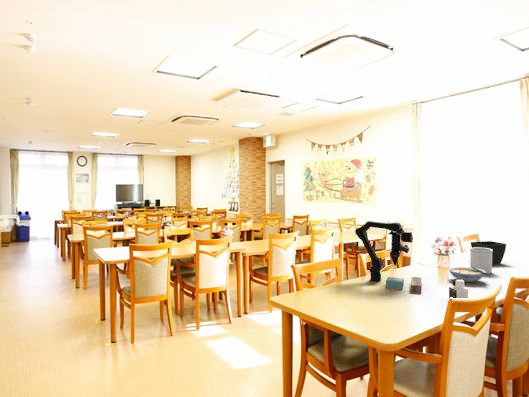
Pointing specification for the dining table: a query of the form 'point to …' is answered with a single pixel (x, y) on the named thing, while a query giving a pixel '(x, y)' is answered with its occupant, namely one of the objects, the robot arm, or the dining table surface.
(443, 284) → the dining table surface
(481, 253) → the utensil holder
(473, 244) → the flower pot
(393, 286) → the teal block
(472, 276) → the ramen bowl
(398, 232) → the robot arm
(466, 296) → the medicine bottle
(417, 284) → the brown bar
